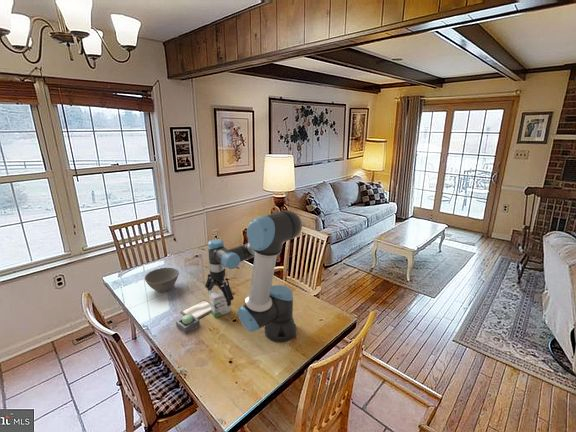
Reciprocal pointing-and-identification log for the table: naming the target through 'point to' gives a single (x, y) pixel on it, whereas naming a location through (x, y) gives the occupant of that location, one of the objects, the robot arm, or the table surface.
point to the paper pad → (198, 309)
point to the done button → (187, 320)
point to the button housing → (188, 327)
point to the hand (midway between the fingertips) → (219, 305)
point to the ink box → (218, 304)
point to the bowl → (162, 278)
